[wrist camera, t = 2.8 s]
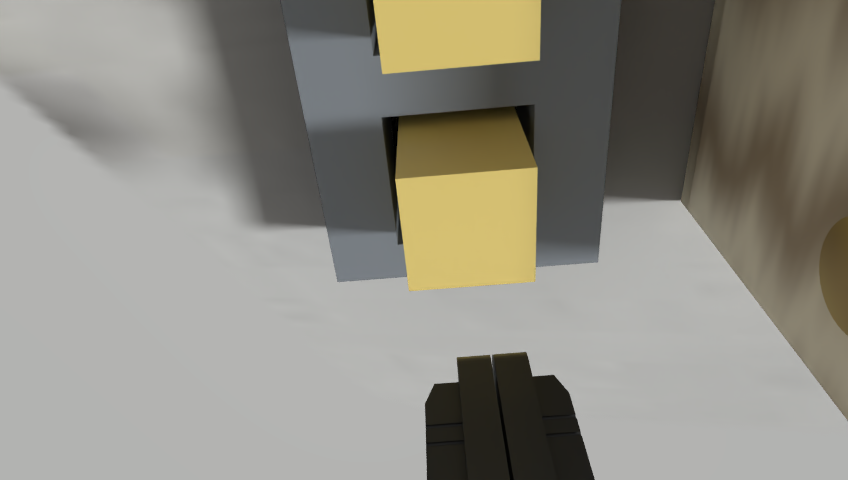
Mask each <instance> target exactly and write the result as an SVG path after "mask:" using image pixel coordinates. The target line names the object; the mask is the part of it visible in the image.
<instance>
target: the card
mask: <svg viewBox="0 0 848 480" xmlns="http://www.w3.org/2000/svg"><path fill="white" fill-rule="evenodd" d="M681 202H682V203H683V205H684V206H685V207H686V209H687V210H688V211H689V212H690V214H691V215H692V216H693V218H694V219H695V220H696V222H697V223H698V224H699V226H700V227H701V228H702V230H703V231H704V232H705V234H706V235H707V236H708V237H709V239H710V240H711V241H712V243H713V244H714V245H715V247H716V248H717V249H718V251H719V252H720V253H721V255H722V256H723V257H724V259H725V260H726V261H727V262H728V264H729V265H730V266H731V268H732V269H733V270H734V272H735V273H736V274H737V276H738V277H739V278H740V280H741V281H742V282H743V283H744V285H745V286H746V287H747V289H748V290H749V291H750V293H751V294H752V295H753V297H754V298H755V299H756V301H757V302H758V303H759V305H760V306H761V307H762V308H763V310H764V311H765V312H766V314H767V315H768V316H769V318H770V319H771V320H772V322H773V323H774V324H775V326H776V327H777V328H778V330H779V331H780V332H781V333H782V335H783V336H784V337H785V339H786V340H787V341H788V343H789V344H790V345H791V347H792V348H793V349H794V351H795V352H796V353H797V355H798V356H799V357H800V358H801V360H802V361H803V362H804V364H805V365H806V366H807V368H808V369H809V370H810V372H811V373H812V374H813V376H814V377H815V378H816V380H817V381H818V382H819V383H820V385H821V386H822V387H823V389H824V390H825V391H826V393H827V394H828V395H829V397H830V398H831V399H832V401H833V402H834V403H835V404H836V406H837V407H838V408H839V410H840V411H841V412H842V414H843V415H844V416H845V418H846V419H847V420H848V0H715V3H714V9H713V15H712V21H711V27H710V33H709V39H708V45H707V50H706V56H705V62H704V68H703V74H702V80H701V86H700V92H699V97H698V103H697V109H696V115H695V121H694V127H693V133H692V139H691V144H690V150H689V156H688V162H687V168H686V174H685V180H684V186H683V191H682V197H681Z"/></svg>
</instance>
